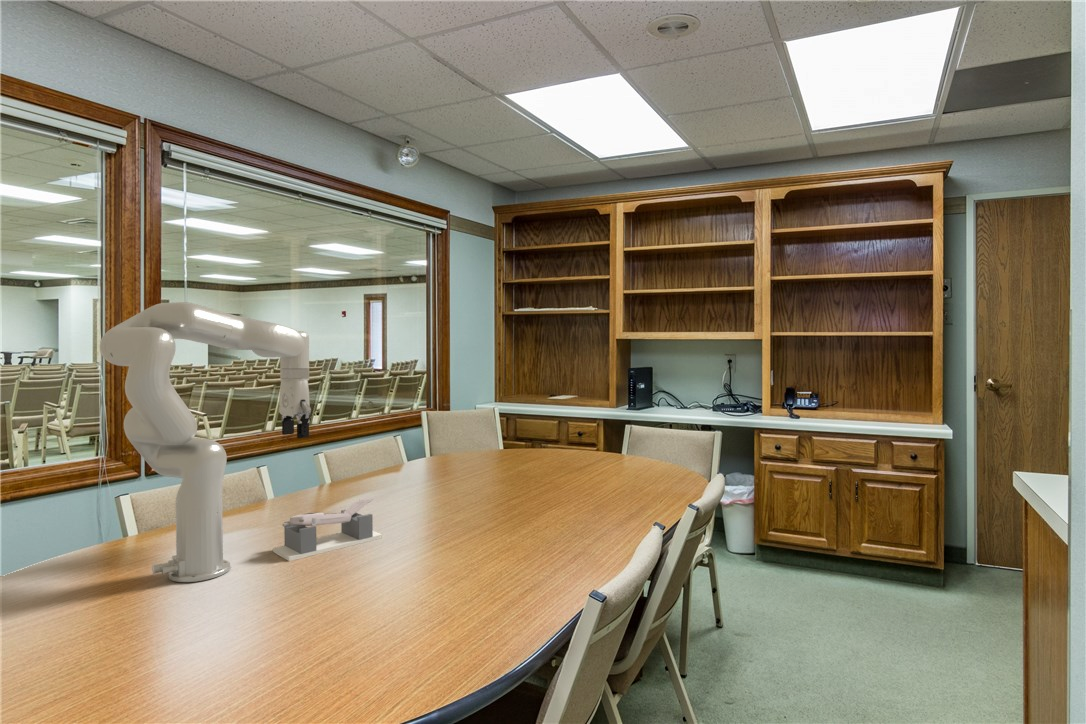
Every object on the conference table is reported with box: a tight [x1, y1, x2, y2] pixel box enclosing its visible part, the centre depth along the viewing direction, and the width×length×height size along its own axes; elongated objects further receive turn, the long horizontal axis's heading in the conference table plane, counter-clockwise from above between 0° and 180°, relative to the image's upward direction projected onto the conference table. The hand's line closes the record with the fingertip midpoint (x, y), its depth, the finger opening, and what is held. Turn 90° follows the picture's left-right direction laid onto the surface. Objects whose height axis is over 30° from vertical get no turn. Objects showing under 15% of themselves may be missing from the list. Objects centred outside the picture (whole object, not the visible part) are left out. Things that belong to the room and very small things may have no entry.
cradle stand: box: [272, 509, 383, 562], centre depth 163 cm, size 26×10×7 cm, turn 136°
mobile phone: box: [282, 498, 374, 527], centre depth 164 cm, size 6×6×25 cm
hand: (295, 435), depth 170 cm, fingers open, 9 cm apart
